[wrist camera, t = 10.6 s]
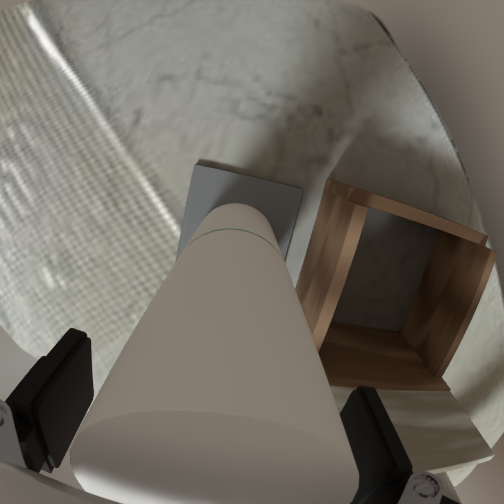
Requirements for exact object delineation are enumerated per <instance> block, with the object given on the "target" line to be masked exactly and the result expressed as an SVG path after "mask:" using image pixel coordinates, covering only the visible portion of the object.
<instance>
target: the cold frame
mask: <svg viewBox="0 0 504 504" xmlns="http://www.w3.org/2000/svg"><path fill="white" fill-rule="evenodd" d="M361 204H362V205H361ZM363 205H365V206H369V207H372V208H375V209H379V210H382V211H385V212H388V213H391V214H394V215H398V216H401V217H404V218H407V219H410V220H413V221H416V222H419V223H422V224H425V225H428V226H431V227H433V228H436V229H439V232H438V235H437V238H436V241H435V244H434V247H433V250H432V253H431V256H430V259H429V262H428V265H427V267H426V270H425V273H424V275H423V278H422V281H421V283H420V286H419V288H418V291H417V294H416V296H415V298H414V301H413V303H412V306H411V308H410V310H409V313H408V315H407V317H406V320H405V322H404V324H403V327H402V329H401V331H400V332H396V331H389V330H382V329H376V328H369V327H363V326H357V325H350V324H344V323H338V322H333V321H331V319H332V317H333V314H334V311H335V309H336V306H337V303H338V301H339V298H340V295H341V292H342V289H343V286H344V284H345V281H346V278H347V275H348V272H349V269H350V266H351V263H352V260H353V257H354V254H355V251H356V248H357V244H358V241H359V238H360V235H361V232H362V228H363V225H364V222H365V218H366V215H367V211H368V208H367V207H365V206H363ZM487 238H488V236H487V235H484V234H482V233H480V232H477V231H475V230H472V229H470V228H468V227H465V226H463V225H460V224H458V223H455V222H453V221H450V220H448V219H445V218H443V217H440V216H437V215H435V214H432V213H429V212H426V211H424V210H421V209H418V208H415V207H412V206H410V205H407V204H404V203H401V202H398V201H395V200H392V199H389V198H386V197H383V196H380V195H377V194H374V193H371V192H368V191H364V190H361V189H358V188H355V187H351V186H348V185H345V184H341V183H338V182H335V181H331V180H328V179H327V180H326V184H325V188H324V191H323V195H322V199H321V203H320V206H319V210H318V213H317V217H316V221H315V224H314V228H313V231H312V235H311V238H310V242H309V245H308V248H307V252H306V255H305V259H304V262H303V265H302V269H301V272H300V275H299V279H298V282H297V285H296V288H295V291H296V293H297V296H298V299H299V301H300V304H301V307H302V310H303V312H304V315H305V318H306V321H307V323H308V326H309V329H310V332H311V334H312V337H313V340H314V343H315V346H316V348H317V351H318V354H319V357H320V360H321V363H322V365H323V368H324V371H325V374H326V377H327V380H328V383H329V385H330V388H331V391H332V394H333V397H334V400H335V403H336V406H337V409H338V412H339V414H340V412H341V410H342V409H343V407H344V405H345V403H346V401H347V399H348V398H349V396H350V394H351V392H352V391H353V390H355V389H357V387H359V386H367V387H374V388H375V389H376V391H377V393H378V395H379V397H380V399H381V401H382V403H383V405H384V407H385V409H386V411H387V413H388V415H389V417H390V419H391V421H392V423H393V426H394V428H395V430H396V432H397V434H398V436H399V438H400V440H401V442H402V444H403V446H404V449H405V451H406V453H407V455H408V457H409V459H410V461H411V464H412V466H413V468H412V471H413V473H415V472H418V471H427V472H430V473H432V474H436V473H441V472H446V471H450V470H455V469H459V468H463V467H467V466H471V465H474V464H478V463H482V462H485V461H488V460H491V459H492V457H493V456H494V453H493V452H492V450H491V449H490V447H489V446H488V444H487V443H486V441H485V440H484V438H483V437H482V435H481V434H480V432H479V431H478V430H477V428H476V427H475V425H474V424H473V422H472V421H471V420H470V418H469V417H468V415H467V414H466V413H465V411H464V410H463V408H462V407H461V406H460V404H459V403H458V402H457V400H456V399H455V397H454V396H453V395H452V393H451V392H450V388H449V386H448V385H447V384H446V382H445V381H444V380H443V378H442V376H443V374H444V372H445V370H446V369H447V367H448V365H449V363H450V361H451V360H452V358H453V356H454V354H455V352H456V350H457V348H458V346H459V344H460V342H461V340H462V338H463V336H464V334H465V332H466V330H467V328H468V326H469V324H470V322H471V320H472V317H473V315H474V313H475V311H476V308H477V306H478V304H479V301H480V299H481V297H482V294H483V292H484V289H485V287H486V284H487V282H488V279H489V276H490V274H491V271H492V268H493V265H494V263H495V260H496V257H497V254H498V253H497V252H495V251H493V250H491V249H489V248H487V247H485V245H486V242H487Z"/></svg>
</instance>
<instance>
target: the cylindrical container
mask: <svg viewBox="0 0 504 504" xmlns="http://www.w3.org/2000/svg"><path fill="white" fill-rule="evenodd" d="M70 464H71V467H72V469H73V472H74V474H75V477H76V479H77V480H78V481H79V483H80V484H81V486H82V487H83V489H84V490H85V491H86V492H88V493H91V494H94V495H97V496H100V497H103V498H106V499H109V500H112V501H116V502H119V503H122V504H350V503H351V502H352V500H353V498H354V496H355V494H356V492H357V490H358V487H359V472H358V469H357V466H356V463H355V460H354V457H353V453H352V450H351V447H350V444H349V441H348V438H347V435H346V432H345V429H344V426H343V423H342V420H341V417H340V415H339V412H338V409H337V406H336V403H335V400H334V397H333V394H332V391H331V388H330V385H329V383H328V380H327V377H326V374H325V371H324V368H323V365H322V363H321V360H320V357H319V354H318V351H317V348H316V346H315V343H314V340H313V337H312V334H311V332H310V329H309V326H308V323H307V321H306V318H305V315H304V312H303V310H302V307H301V304H300V301H299V299H298V296H297V293H296V291H295V288H294V285H293V283H292V280H291V277H290V275H289V272H288V269H287V267H286V264H285V261H284V259H283V256H282V253H281V251H280V248H279V246H278V243H277V240H276V238H275V235H274V233H273V230H272V228H271V225H270V223H269V222H268V220H267V219H266V217H265V216H264V215H263V214H262V213H261V212H260V211H258V210H257V209H255V208H253V207H251V206H248V205H246V204H240V203H230V204H225V205H222V206H220V207H217V208H215V209H214V210H212V211H211V212H210V213H209V214H208V215H207V216H206V217H205V218H204V219H203V221H202V222H201V224H200V225H199V227H198V228H197V230H196V231H195V233H194V234H193V236H192V237H191V239H190V241H189V242H188V244H187V245H186V247H185V248H184V250H183V251H182V253H181V254H180V256H179V258H178V259H177V261H176V262H175V264H174V265H173V267H172V269H171V270H170V272H169V273H168V275H167V277H166V278H165V280H164V281H163V283H162V285H161V286H160V288H159V289H158V291H157V293H156V294H155V296H154V298H153V299H152V301H151V303H150V304H149V306H148V307H147V309H146V311H145V312H144V314H143V316H142V317H141V319H140V321H139V323H138V324H137V326H136V328H135V329H134V331H133V333H132V334H131V336H130V338H129V340H128V341H127V343H126V345H125V346H124V348H123V350H122V352H121V353H120V355H119V357H118V359H117V360H116V362H115V364H114V366H113V368H112V369H111V371H110V373H109V375H108V377H107V378H106V380H105V382H104V384H103V386H102V387H101V389H100V391H99V393H98V395H97V397H96V399H95V400H94V402H93V404H92V406H91V408H90V410H89V412H88V414H87V416H86V417H85V420H84V421H83V423H82V425H81V427H80V429H79V431H78V433H77V435H76V437H75V439H74V441H73V444H72V447H71V450H70Z"/></svg>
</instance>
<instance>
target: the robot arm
mask: <svg viewBox="0 0 504 504" xmlns="http://www.w3.org/2000/svg"><path fill="white" fill-rule="evenodd" d="M93 397H94V389H93V374H92V354H91V339H90V338H88V337H87V334H86V333H85V332H83V331H80V330H77V329H74V328H70V329H69V330H68V331H67V332H66V333H65V335H64V336H63V337H62V338H61V339H60V340H59V341H58V343H57V344H56V345H55V346H54V347H53V348H52V350H51V351H50V352H49V353H48V354H47V356H42V357H41V358H40V359H39V360H38V361H37V363H36V364H35V365H34V366H33V367H32V368H31V369H30V371H29V372H28V373H27V374H26V376H25V377H24V378H23V379H22V381H21V382H20V383H19V384H18V385H17V387H16V388H15V389H14V390H13V392H12V393H11V394H10V396H9V397H8V398H7V399H6V401H5V402H4V401H2V400H1V399H0V504H122V503H119V502H116V501H112V500H109V499H106V498H103V497H100V496H97V495H94V494H91V493H88V492H85V491H83V490H80V489H77V488H74V487H72V486H69V485H67V484H64V483H62V482H59V481H57V480H54V479H52V478H49V477H47V476H44V475H42V474H39V472H40V470H41V469H42V470H44V471H46V472H48V473H52V471H53V468H54V467H55V468H58V467H59V466H60V464H61V462H62V460H63V458H64V456H65V454H66V452H67V450H68V448H69V446H70V444H71V442H72V440H73V438H74V436H75V433H76V432H77V430H78V428H79V426H80V424H81V422H82V420H83V418H84V416H85V414H86V412H87V410H88V409H89V407H90V405H91V403H92V400H93ZM339 415H340V417H341V420H342V423H343V426H344V429H345V432H346V435H347V438H348V441H349V444H350V447H351V450H352V453H353V457H354V460H355V463H356V466H357V469H358V472H359V487H358V490H357V492H356V494H355V496H354V498H353V500H352V502H351V503H350V504H462V503H461V501H460V499H459V497H458V495H457V493H456V491H455V489H454V487H453V485H452V483H451V481H450V479H449V477H448V475H447V473H446V472H441V473H436V474H432V473H430V472H427V471H418V472H415V473H413V471H412V468H413V466H412V464H411V461H410V459H409V457H408V455H407V453H406V451H405V449H404V446H403V444H402V442H401V440H400V438H399V436H398V434H397V432H396V430H395V428H394V426H393V423H392V421H391V419H390V417H389V415H388V413H387V411H386V409H385V407H384V405H383V403H382V401H381V399H380V397H379V395H378V393H377V391H376V389H375V388H374V387H367V386H359V387H357V389H355V390H353V391H352V392H351V394H350V396H349V398H348V399H347V401H346V403H345V405H344V407H343V409H342V410H341V412H340V414H339Z"/></svg>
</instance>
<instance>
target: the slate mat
mask: <svg viewBox="0 0 504 504" xmlns="http://www.w3.org/2000/svg"><path fill="white" fill-rule="evenodd" d="M302 194H303V189H300V188H296V187H292V186H288V185H284V184H280V183H276V182H272V181H268V180H264V179H260V178H256V177H252V176H247V175H243V174H238V173H234V172H230V171H225V170H220V169H216V168H211V167H206V166H202V165H197V164H195V165H194V170H193V174H192V179H191V184H190V189H189V193H188V198H187V203H186V208H185V213H184V219H183V224H182V229H181V235H180V240H179V246H178V252H177V257H176V261H177V259H178V258H179V256H180V254H181V253H182V251H183V250H184V248H185V247H186V245H187V244H188V242H189V241H190V239H191V237H192V236H193V234H194V233H195V231H196V230H197V228H198V227H199V225H200V224H201V222H202V221H203V219H204V218H205V217H206V216H207V215H208V214H209V213H210V212H211V211H212V210H214V209H215V208H217V207H220V206H222V205H225V204H230V203H240V204H246V205H248V206H251V207H253V208H255V209H257V210H258V211H260V212H261V213H262V214H263V215H264V216H265V217H266V219H267V220H268V222H269V223H270V225H271V228H272V230H273V233H274V235H275V238H276V240H277V243H278V246H279V248H280V251H281V253H282V256H283V259H284V260H285V256H286V253H287V249H288V245H289V242H290V238H291V235H292V231H293V227H294V224H295V220H296V216H297V212H298V209H299V205H300V201H301V198H302Z"/></svg>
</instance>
